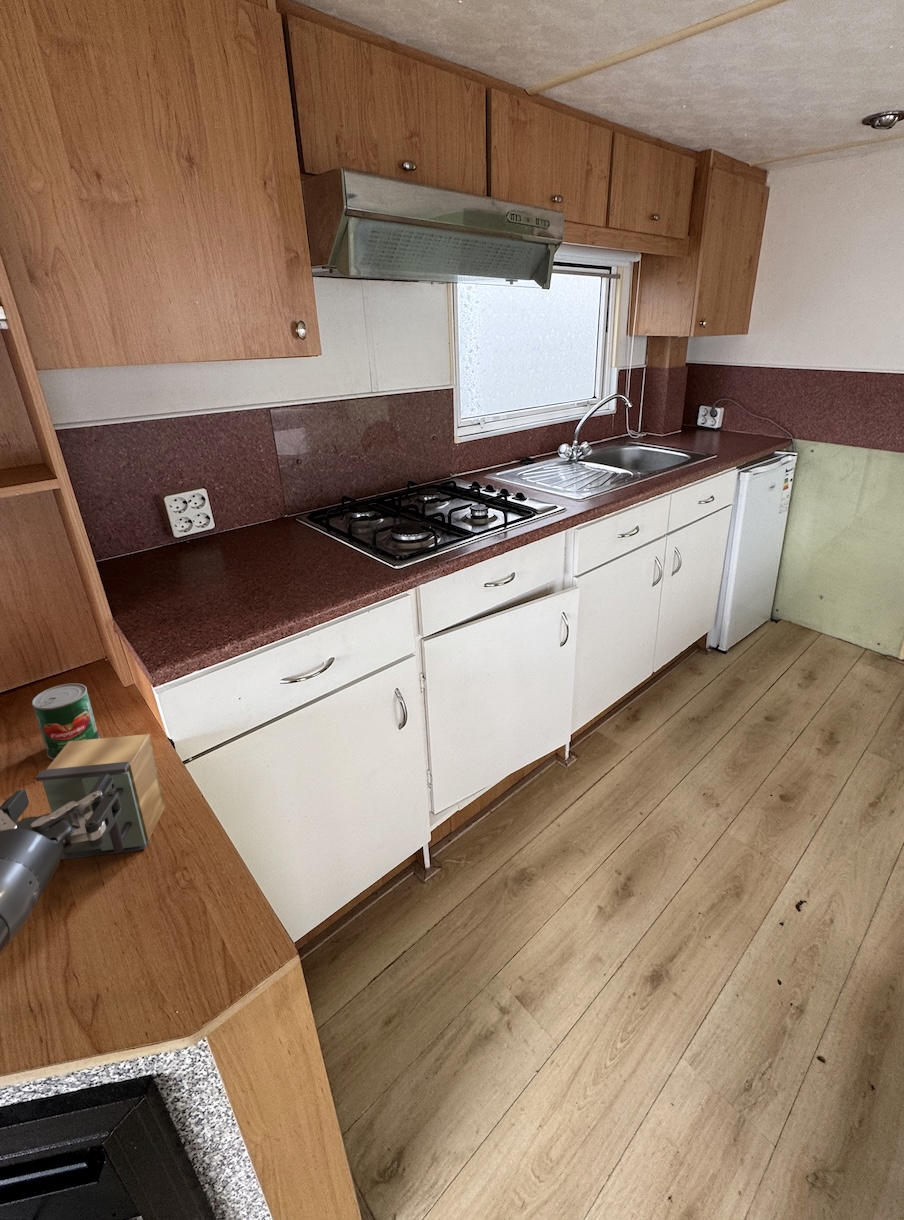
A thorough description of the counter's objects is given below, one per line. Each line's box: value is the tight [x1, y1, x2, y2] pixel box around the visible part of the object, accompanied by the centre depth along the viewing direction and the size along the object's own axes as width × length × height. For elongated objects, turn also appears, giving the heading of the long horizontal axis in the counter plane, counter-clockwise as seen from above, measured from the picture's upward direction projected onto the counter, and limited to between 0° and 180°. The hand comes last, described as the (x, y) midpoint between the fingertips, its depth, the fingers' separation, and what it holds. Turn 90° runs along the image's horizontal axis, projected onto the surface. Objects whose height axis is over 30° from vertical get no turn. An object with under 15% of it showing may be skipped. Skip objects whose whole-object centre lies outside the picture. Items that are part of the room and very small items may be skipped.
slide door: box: [82, 772, 146, 852], centre depth 80 cm, size 6×5×13 cm
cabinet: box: [35, 733, 166, 861], centre depth 85 cm, size 11×9×15 cm
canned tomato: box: [31, 682, 101, 760], centre depth 104 cm, size 8×8×11 cm
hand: (65, 788), depth 68 cm, fingers open, 8 cm apart
